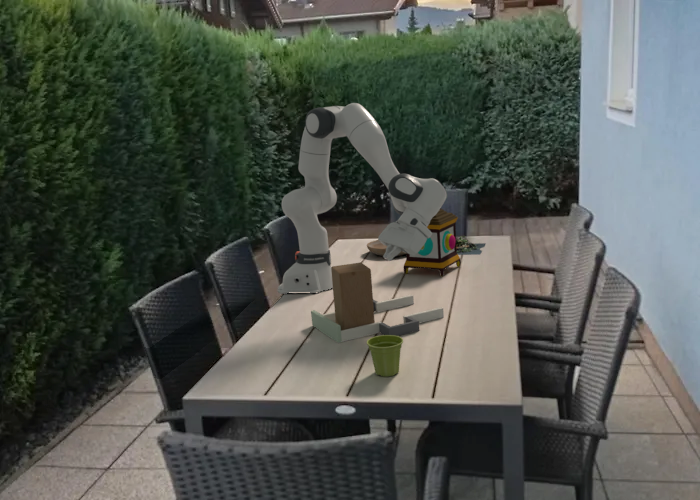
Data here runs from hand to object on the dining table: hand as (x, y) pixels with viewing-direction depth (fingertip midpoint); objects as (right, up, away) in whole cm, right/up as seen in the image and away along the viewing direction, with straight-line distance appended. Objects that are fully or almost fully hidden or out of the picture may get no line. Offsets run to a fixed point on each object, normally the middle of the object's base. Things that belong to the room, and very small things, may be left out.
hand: (386, 259), depth 217 cm
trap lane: (-2, -20, +2) cm, 20 cm away
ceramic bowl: (+8, +1, +96) cm, 96 cm away
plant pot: (-2, -29, -39) cm, 49 cm away
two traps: (-2, -20, +2) cm, 20 cm away
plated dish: (+34, +2, +95) cm, 101 cm away
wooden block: (-10, -22, -4) cm, 25 cm away
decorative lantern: (+22, -6, +60) cm, 64 cm away
